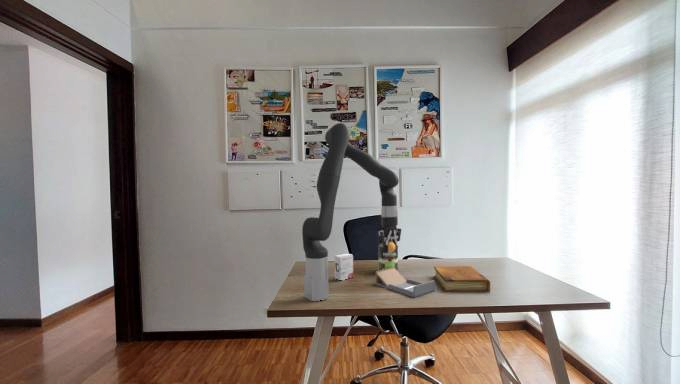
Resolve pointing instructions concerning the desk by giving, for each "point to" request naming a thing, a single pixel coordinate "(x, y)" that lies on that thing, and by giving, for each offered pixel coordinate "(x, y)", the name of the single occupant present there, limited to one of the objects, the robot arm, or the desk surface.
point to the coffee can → (387, 259)
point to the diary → (461, 279)
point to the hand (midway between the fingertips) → (389, 251)
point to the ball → (391, 247)
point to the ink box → (343, 266)
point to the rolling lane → (402, 283)
